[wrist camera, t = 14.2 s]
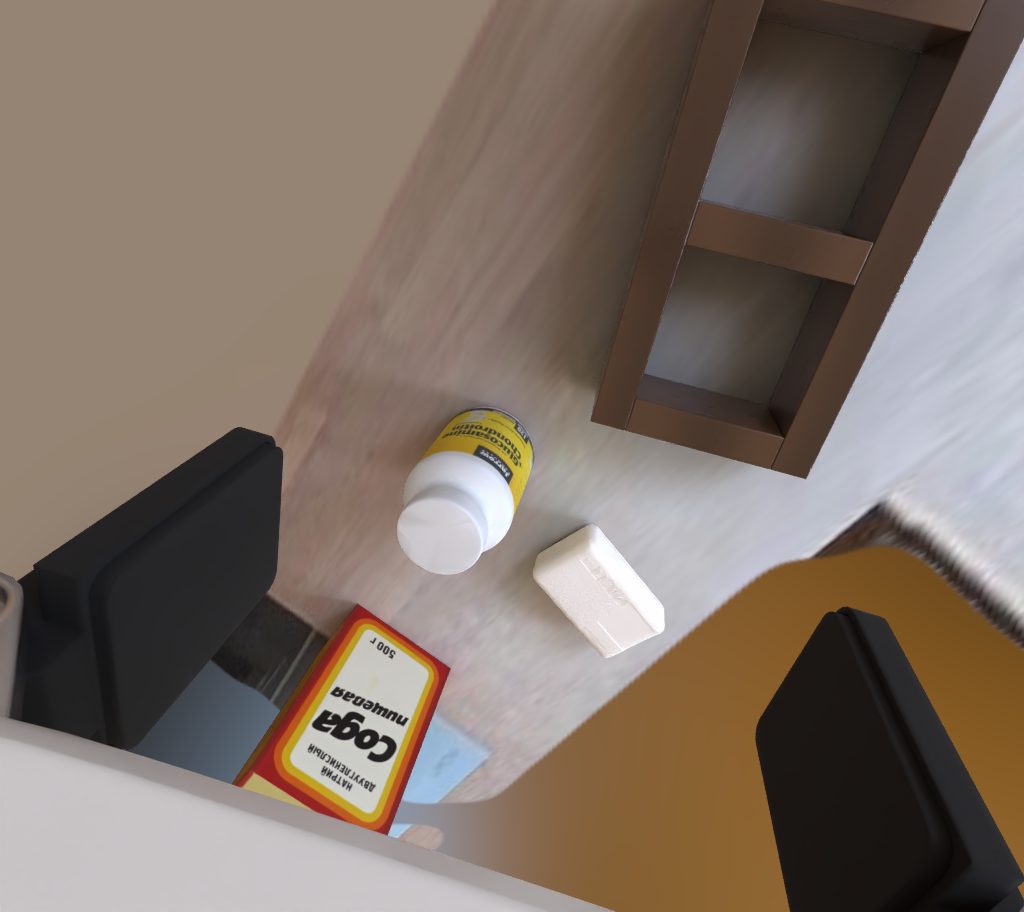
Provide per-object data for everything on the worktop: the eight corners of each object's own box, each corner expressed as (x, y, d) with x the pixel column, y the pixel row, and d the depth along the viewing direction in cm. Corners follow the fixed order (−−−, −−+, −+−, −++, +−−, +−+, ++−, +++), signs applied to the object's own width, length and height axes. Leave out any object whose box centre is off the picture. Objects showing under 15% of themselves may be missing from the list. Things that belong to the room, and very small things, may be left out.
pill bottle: (555, 445, 41) (526, 538, 31) (498, 506, 44) (453, 610, 34) (479, 383, 40) (423, 458, 30) (425, 449, 43) (357, 538, 33)
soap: (533, 552, 45) (526, 577, 42) (593, 517, 43) (591, 540, 40) (605, 636, 47) (604, 664, 44) (667, 606, 45) (669, 634, 42)
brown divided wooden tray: (595, 392, 39) (590, 421, 34) (722, -43, 29) (737, -82, 24) (787, 443, 38) (806, 479, 34) (986, 11, 28) (1052, -19, 23)
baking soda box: (322, 647, 53) (206, 822, 39) (357, 604, 50) (246, 775, 36) (411, 707, 54) (329, 898, 40) (450, 668, 51) (378, 859, 37)
